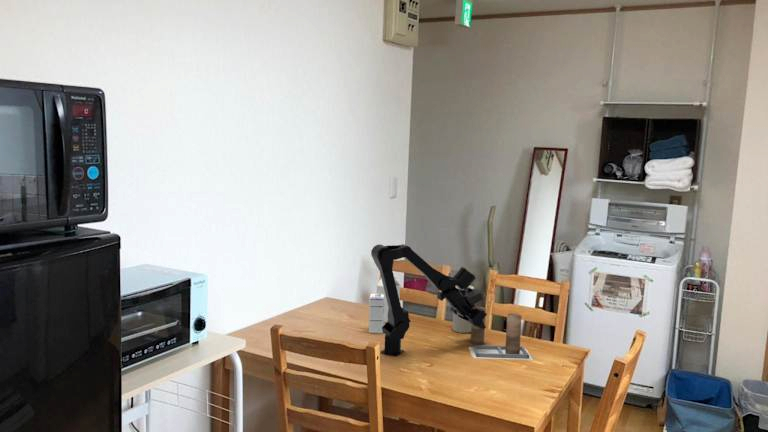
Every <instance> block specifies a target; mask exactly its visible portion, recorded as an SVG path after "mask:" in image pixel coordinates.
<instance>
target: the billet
mask: <svg viewBox="0 0 768 432" xmlns="http://www.w3.org/2000/svg"><path fill="white" fill-rule="evenodd" d="M476 308H480V309H482V310H484V311H485V312H486V313H487V311H486V310H487V309H486V307H483V306H475V307H474V308H472V309H474V310H475V309H476ZM483 322H484V324H485V325H486V317H485V318H484V319H483ZM485 330H486V328H485V329H482V328H479V327H477V326H474V325H472V324H471V332H470V344H472V345H483V344H485Z"/></svg>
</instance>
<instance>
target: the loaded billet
mask: <svg viewBox="0 0 768 432" xmlns="http://www.w3.org/2000/svg"><path fill="white" fill-rule="evenodd" d="M521 331H522V315H521V314H519V313H507V314H506V331H505V335H506V336H505V346H506V350H505V353H506V354H520V346H521V335H522V334H521V333H522V332H521Z"/></svg>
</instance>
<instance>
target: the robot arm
mask: <svg viewBox="0 0 768 432" xmlns="http://www.w3.org/2000/svg"><path fill="white" fill-rule="evenodd" d="M370 256H371V258H372V259H373V262H374V265H376V268H377V269H378V272H379V273H380V279H381V278H382V282H383V287H384V291H385V295H386V299H387V303H388V308H389V309H388V321H387V322H385V323H384V326H383V327H382V331H383V333H382V334H384V347H383V350H381V351H380V354H383V355H388V356H392V357H398V356H400V355H402V354H403V353H405V350H404V349H402V340H403V339H404V337H405V335H406V333H407V332H408V330H409V328H410V326H411V325H410V323H411V322H412V321H411V320H410V317H409V316H410V313H409V311H408V310H406V309H405V308H403V307H402V305H401V301H400V300H401V299H400V300H399V296H398V292H397V288H396V283H395V279H394V277H395V275H394V272H393V267H394V261H396V260H400V259H402V258H404V259H405V260H406V261H408V262H409V263H410V264H411V265H412V266H413V267H414V268H415V269H417V270H418V271H419V272H420V273H421V274H422V275H423V276H424V277H425V279H426V280H427V282H428V283H429V284H430V285H431V286H432V287H433V288H434V289H436V290H437V291H438V292H437V296H436V297H437V299H438V300H440V301H443V300H444V299H445V300H446V301H447V302H448V303H449V306H450V312H452V314H453V313H454V314H455V315H457V313H458V314H459V315H458V317H460V318H462V319H464V320H466V321H469V323H470V324H472V325H474V326H477V327H479V328H482V329H485V330H486V328H487V327H486V323H485V324H484V322H483V319H484V318H485V319H486V317H487V314H488V313H487V311H486V312H485V311H484V310H482V309H480V308H476V309H475V310H474V309H472V308H474V307H476V304H477V303H479V302H481V301H483V300H484V299H485V298H484V296H483V293H482V291H481V290H479V289H478V288H474V289H473V290H472V289H471V288H468V287H469V286H472V284H473V283H474V282H475V281H476V280H477V278H476V277H475V275H474V274H473V273H472V272H470V271H469V270H468V269H466V268H465V267H463V266H461V267H460V269H459V270H458V271H457V272H456V273H455V274H454V275H453V276H450V275H446V274H445V273H442V272H441V271H438V270H437V269H435V268H434V267H432V266H431V265H430V264H429V263H428V262H427V261H425V260H424V259H423V258H422V257H421V256H420V255H418V253H417V252H415V251H414V250H413V249H412V247H411V246H409V245H407V244H403V243H402V244H397V245H395V244H393V245H383V244H376V245H375V246H373V247H372V249H371V250H370ZM455 286H456V287H458V288H459V289H460V290H462V289H464V290H466V293H465V294H466V295H463V294H462V293H461V292H460V291H459V290H458V289H457V288H456V287H455ZM456 312H457V313H456Z"/></svg>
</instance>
